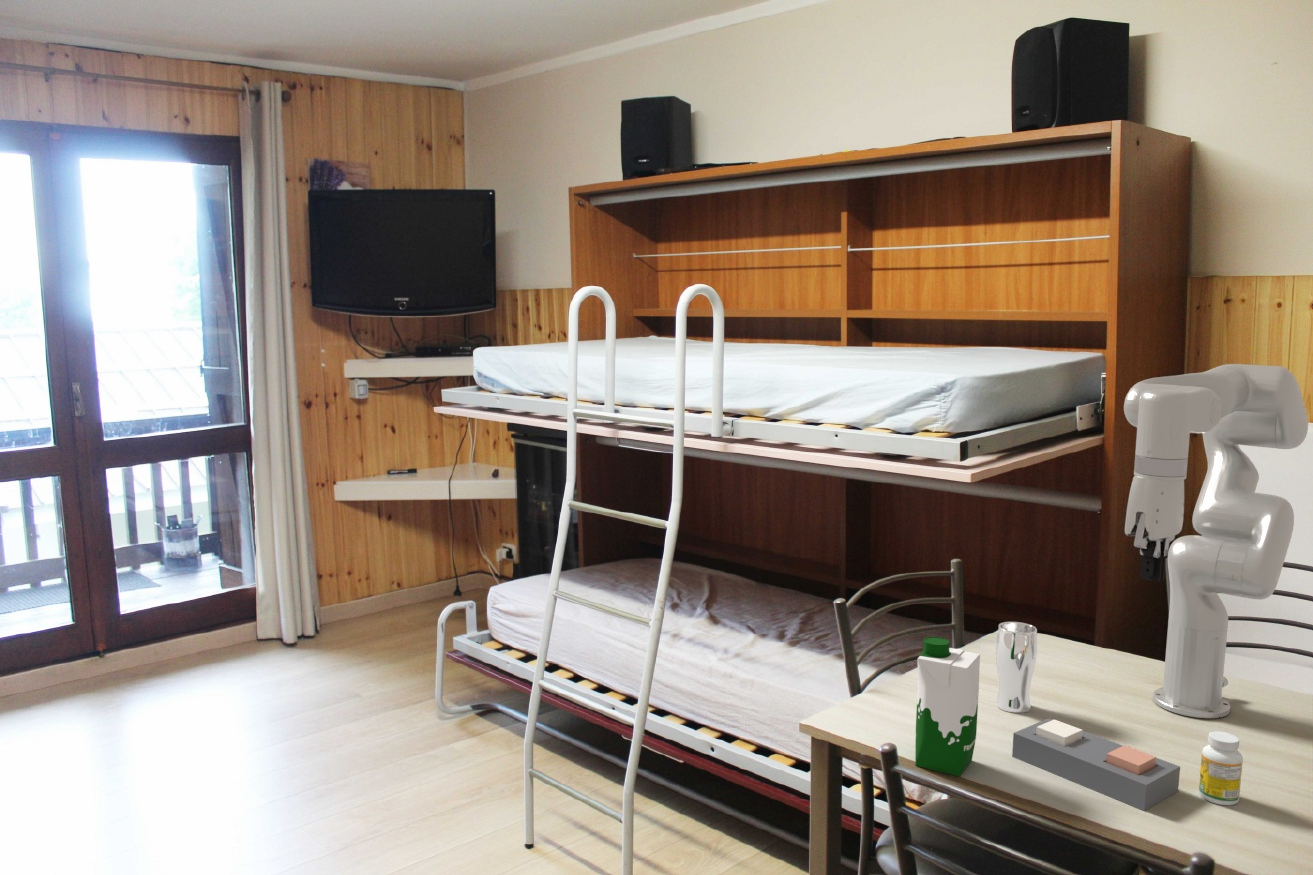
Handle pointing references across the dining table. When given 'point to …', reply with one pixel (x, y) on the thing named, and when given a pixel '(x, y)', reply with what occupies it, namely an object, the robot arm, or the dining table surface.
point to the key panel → (1097, 767)
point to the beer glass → (1015, 665)
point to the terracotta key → (1131, 760)
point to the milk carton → (946, 707)
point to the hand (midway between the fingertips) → (1151, 579)
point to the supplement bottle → (1221, 769)
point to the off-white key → (1059, 733)
